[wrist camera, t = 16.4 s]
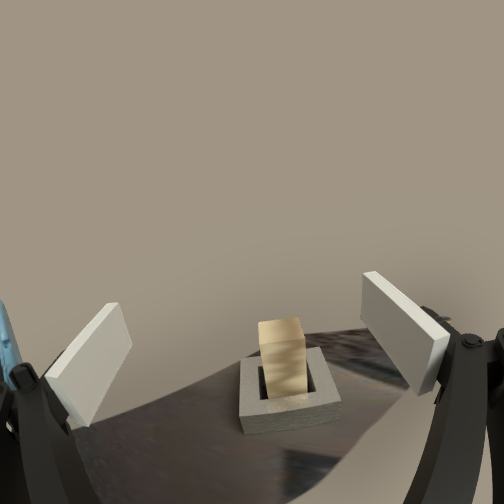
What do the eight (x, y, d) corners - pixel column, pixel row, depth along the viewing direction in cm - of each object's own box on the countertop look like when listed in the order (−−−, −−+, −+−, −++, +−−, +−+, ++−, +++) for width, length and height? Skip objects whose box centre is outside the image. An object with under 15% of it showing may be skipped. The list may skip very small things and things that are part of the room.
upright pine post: (270, 413, 32) (259, 344, 29) (268, 390, 37) (258, 322, 34) (307, 408, 32) (304, 337, 29) (302, 385, 37) (298, 316, 34)
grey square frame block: (244, 435, 29) (239, 416, 28) (244, 377, 40) (240, 358, 39) (339, 420, 28) (341, 400, 27) (319, 366, 40) (319, 346, 39)
